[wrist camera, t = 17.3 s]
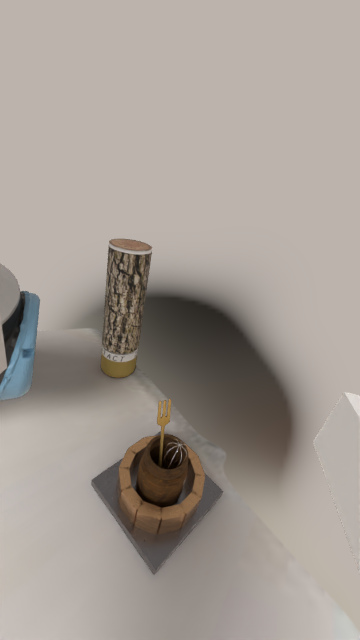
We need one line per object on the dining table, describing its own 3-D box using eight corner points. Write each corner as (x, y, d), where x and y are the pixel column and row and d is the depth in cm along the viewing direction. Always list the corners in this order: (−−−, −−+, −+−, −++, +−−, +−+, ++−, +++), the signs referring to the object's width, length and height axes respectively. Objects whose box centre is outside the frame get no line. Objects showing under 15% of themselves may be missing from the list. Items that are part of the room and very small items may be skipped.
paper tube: (117, 353, 59) (129, 237, 48) (141, 368, 57) (160, 248, 45) (93, 367, 54) (99, 240, 42) (118, 384, 51) (133, 253, 40)
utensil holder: (142, 520, 31) (158, 453, 26) (129, 469, 36) (140, 403, 31) (188, 504, 34) (212, 439, 28) (170, 458, 39) (187, 396, 33)
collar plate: (91, 484, 35) (92, 465, 33) (160, 435, 43) (164, 417, 41) (154, 574, 28) (160, 556, 26) (221, 495, 37) (229, 477, 35)
